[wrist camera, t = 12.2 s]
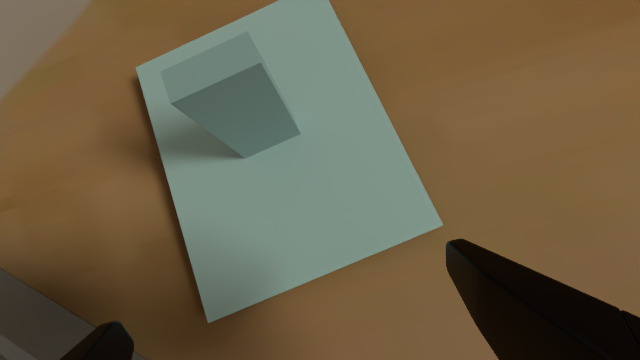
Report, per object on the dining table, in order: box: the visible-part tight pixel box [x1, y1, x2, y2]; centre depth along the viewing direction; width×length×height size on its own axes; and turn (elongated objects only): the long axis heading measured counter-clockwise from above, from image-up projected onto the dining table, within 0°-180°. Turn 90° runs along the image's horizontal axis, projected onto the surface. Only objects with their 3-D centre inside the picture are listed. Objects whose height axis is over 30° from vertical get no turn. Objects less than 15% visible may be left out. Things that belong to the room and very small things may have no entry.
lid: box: [136, 0, 443, 323], centre depth 17 cm, size 19×15×10 cm
